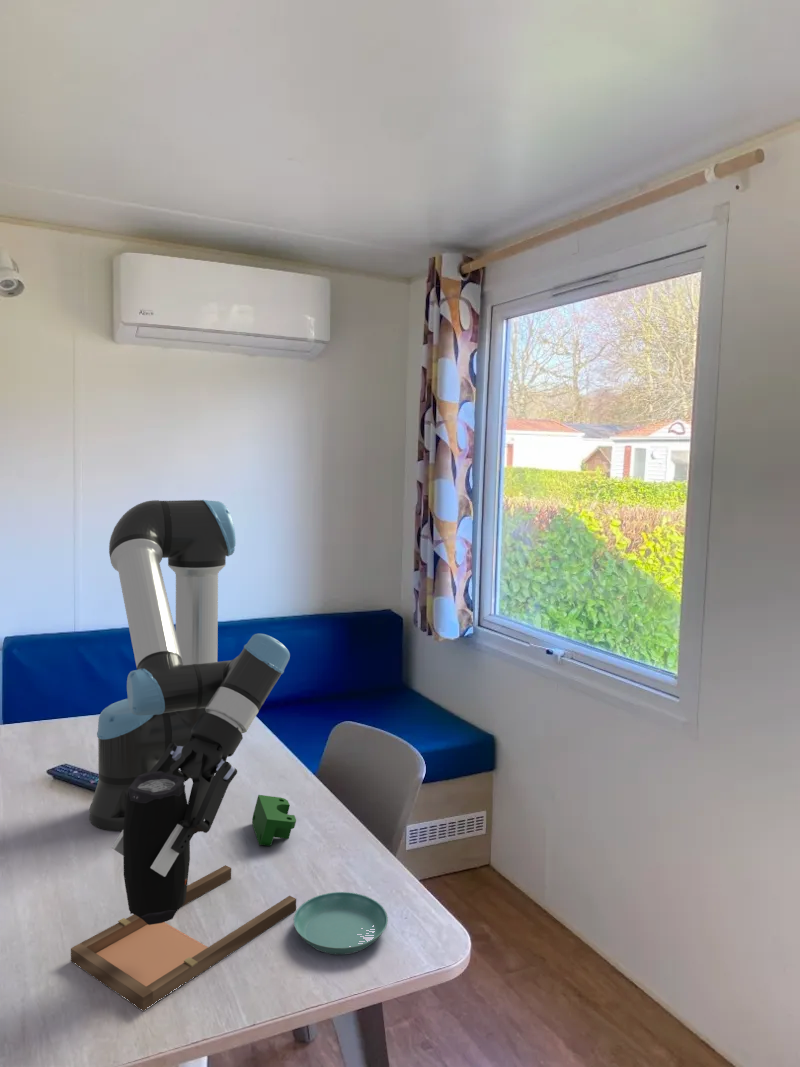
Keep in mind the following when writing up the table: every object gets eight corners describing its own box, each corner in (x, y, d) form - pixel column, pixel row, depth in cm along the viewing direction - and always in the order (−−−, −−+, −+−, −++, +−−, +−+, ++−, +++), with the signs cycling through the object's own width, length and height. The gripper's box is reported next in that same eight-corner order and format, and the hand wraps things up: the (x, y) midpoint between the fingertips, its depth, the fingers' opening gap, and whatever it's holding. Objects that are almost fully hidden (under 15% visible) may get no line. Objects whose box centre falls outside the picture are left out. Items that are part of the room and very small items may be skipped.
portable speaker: (201, 902, 115) (201, 776, 114) (154, 935, 107) (153, 799, 105) (159, 886, 120) (159, 764, 118) (111, 916, 111) (109, 786, 110)
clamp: (283, 862, 150) (298, 830, 146) (253, 859, 148) (267, 826, 144) (279, 814, 160) (293, 782, 157) (251, 811, 158) (264, 778, 155)
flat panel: (95, 955, 114) (95, 953, 114) (157, 920, 123) (157, 918, 123) (154, 994, 106) (154, 992, 106) (216, 954, 115) (216, 952, 115)
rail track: (70, 960, 113) (70, 946, 112) (224, 875, 137) (224, 863, 136) (144, 1012, 103) (143, 996, 102) (296, 910, 127) (296, 897, 126)
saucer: (308, 973, 112) (309, 956, 111) (282, 917, 125) (282, 902, 125) (402, 950, 117) (402, 934, 117) (367, 899, 131) (367, 884, 131)
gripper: (284, 750, 118) (201, 897, 106) (193, 721, 130) (109, 850, 118) (259, 725, 113) (169, 876, 101) (167, 697, 125) (77, 829, 114)
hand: (137, 862), depth 110 cm, fingers closed on portable speaker, 8 cm apart
